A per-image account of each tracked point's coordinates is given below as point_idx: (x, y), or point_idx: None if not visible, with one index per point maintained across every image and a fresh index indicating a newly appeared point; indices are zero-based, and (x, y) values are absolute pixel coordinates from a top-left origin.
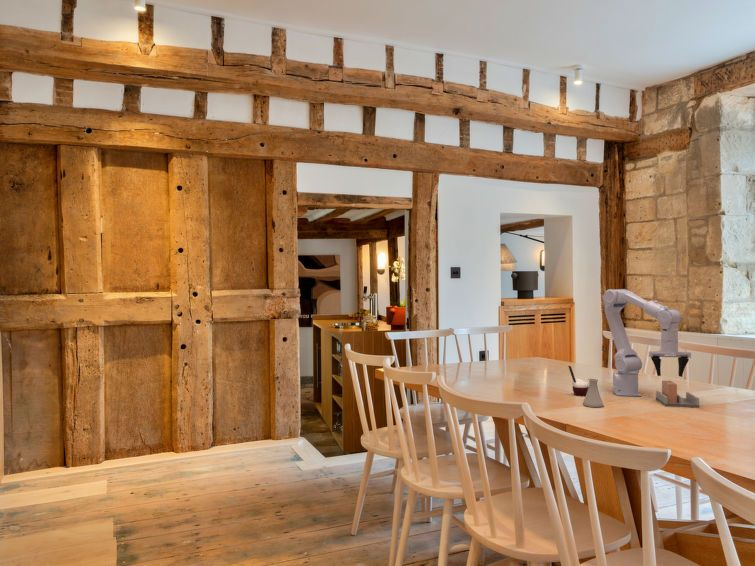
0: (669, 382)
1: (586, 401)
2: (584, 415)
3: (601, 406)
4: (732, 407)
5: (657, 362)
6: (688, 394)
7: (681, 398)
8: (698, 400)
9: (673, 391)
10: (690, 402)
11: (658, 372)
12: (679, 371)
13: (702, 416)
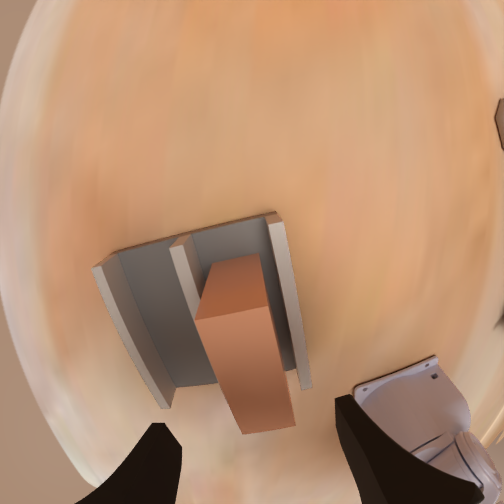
0: (251, 381)
1: None
2: (490, 6)
3: (499, 107)
4: (30, 308)
5: (429, 484)
6: (156, 379)
7: (181, 244)
8: (100, 263)
9: (226, 287)
10: (148, 304)
11: (364, 413)
12: (167, 469)
13: (119, 52)
